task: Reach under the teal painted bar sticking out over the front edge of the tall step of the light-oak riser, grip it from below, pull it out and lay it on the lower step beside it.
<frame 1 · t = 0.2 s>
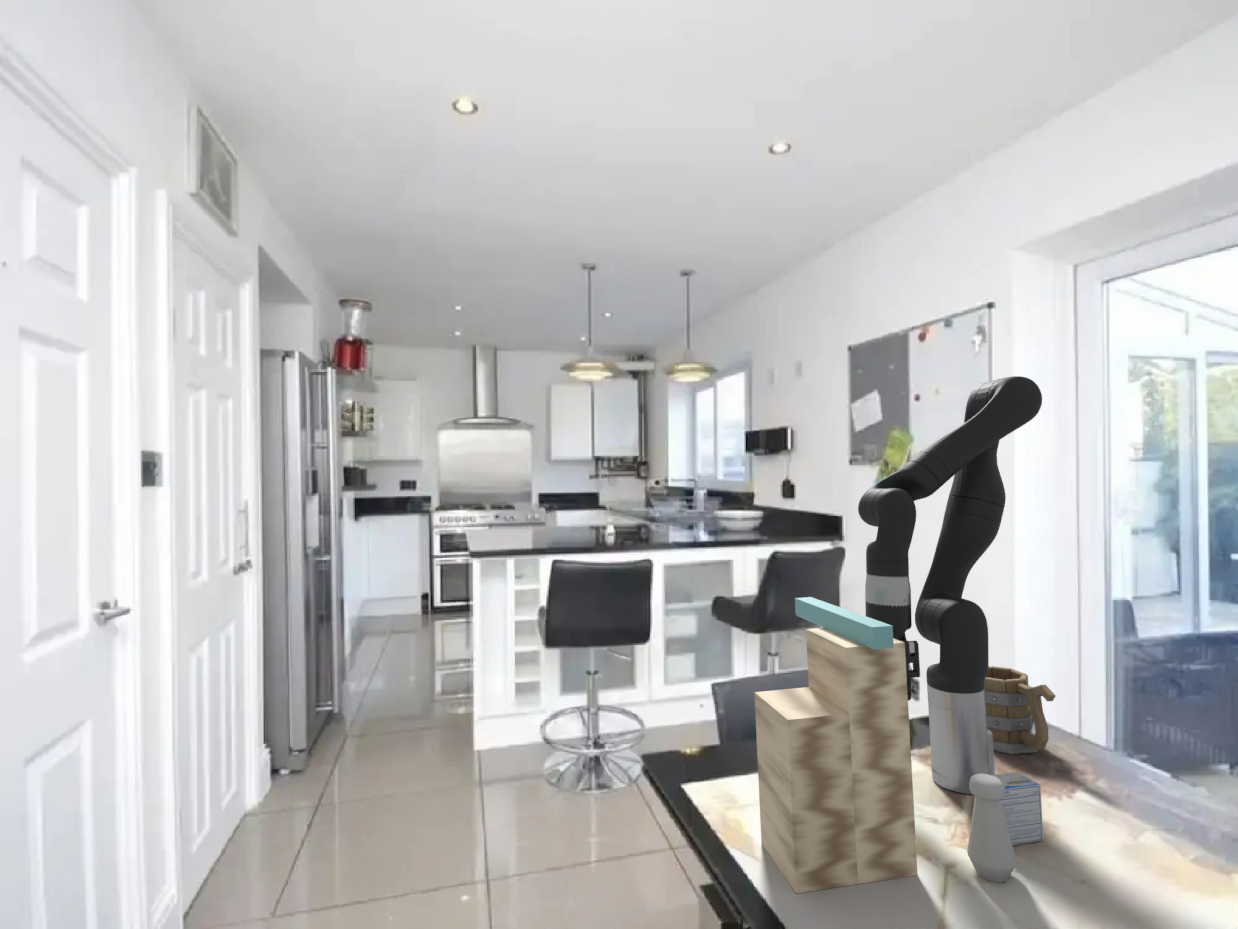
hand: (889, 692, 111), 17 cm above the table, tool pointing down, fingers open, 8 cm apart
salt shaker: (992, 875, 87), on the table
medicine box: (1010, 839, 95), on the table
tankard: (1014, 749, 126), on the table
teal bar: (838, 629, 97), point 32 cm above the table, touching oak riser
oak riser: (835, 858, 91), on the table
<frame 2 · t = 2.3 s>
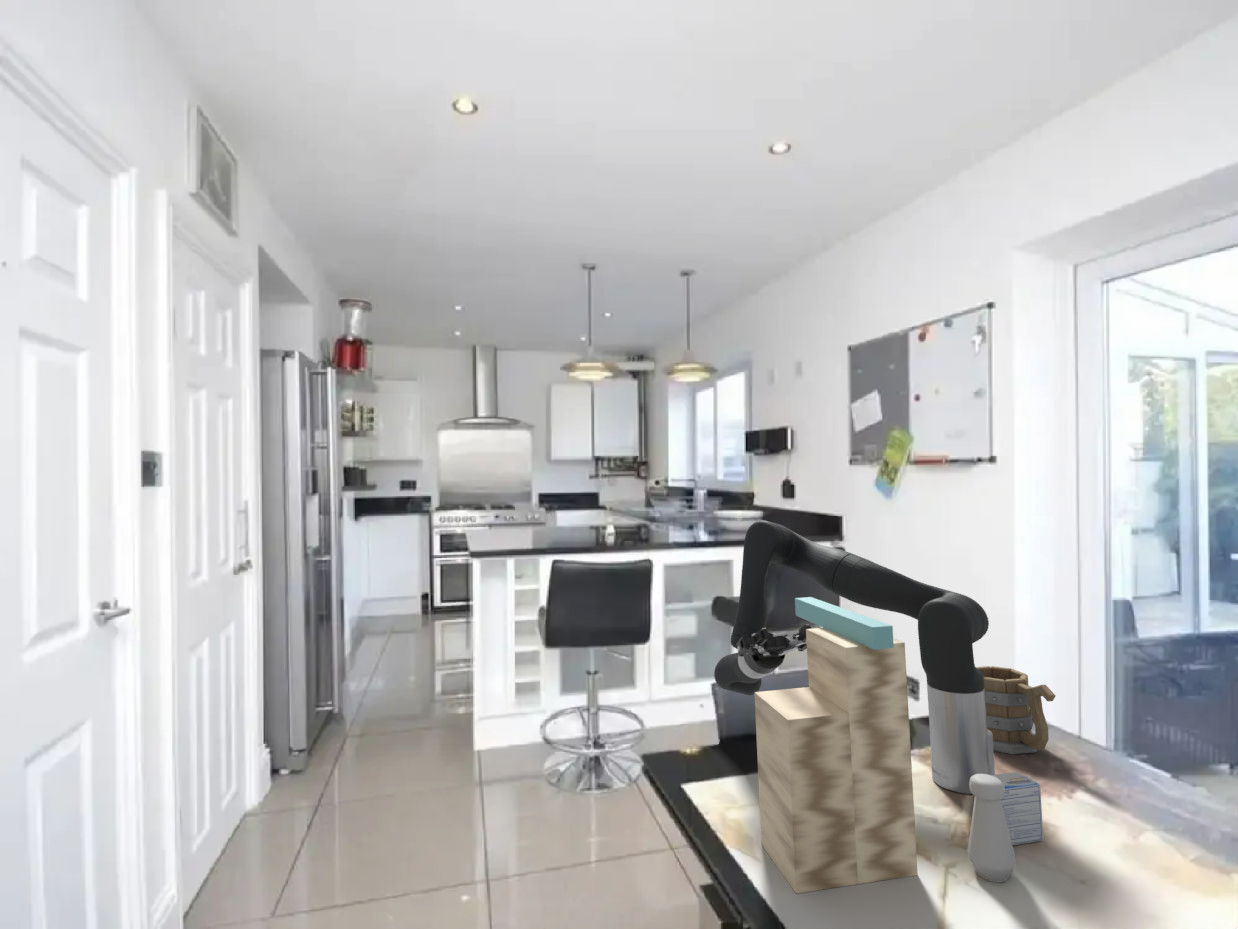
hand: (787, 631, 116), 28 cm above the table, tool pointing upward, fingers open, 8 cm apart
nothing on the table moved.
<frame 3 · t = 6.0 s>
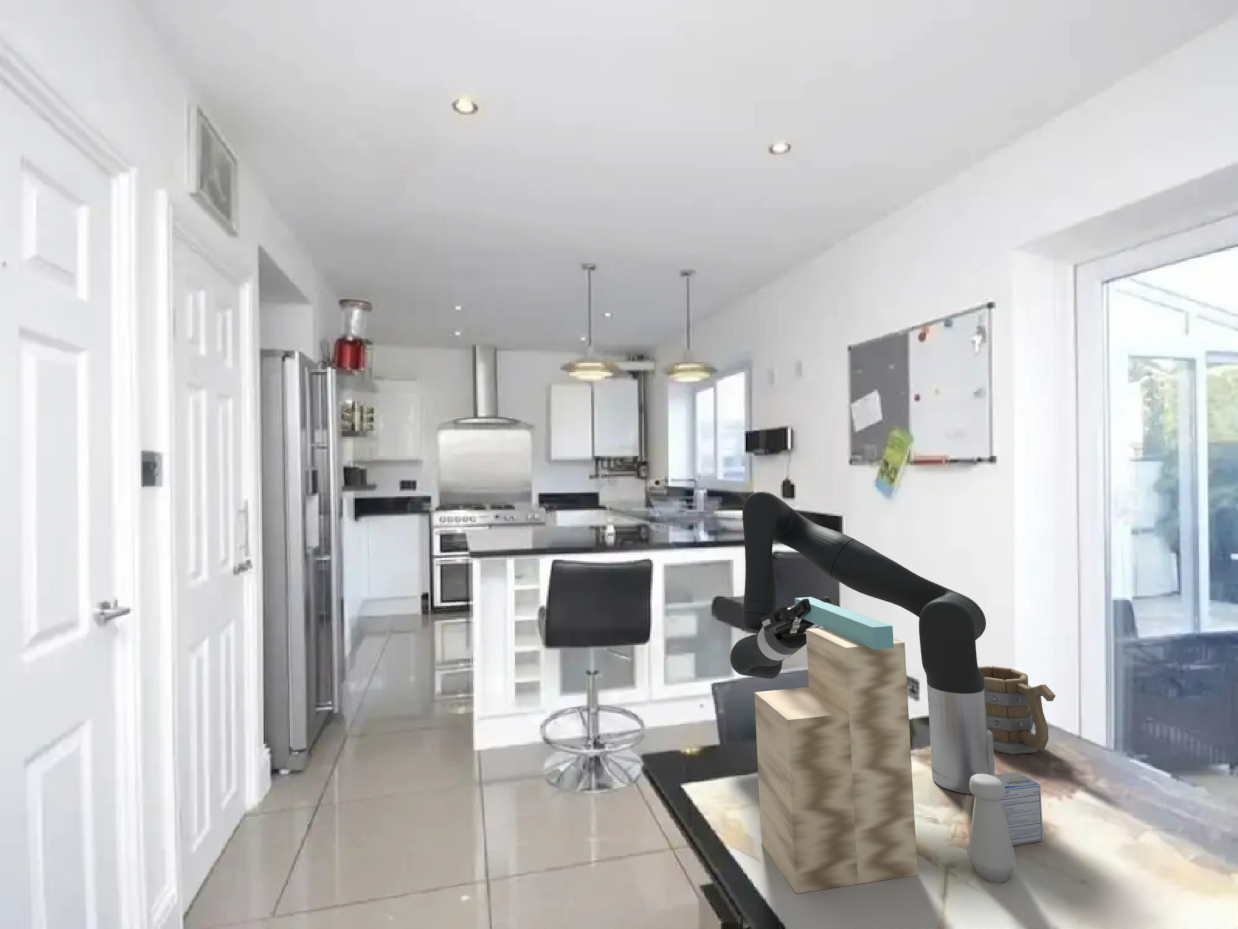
hand: (818, 603, 104), 35 cm above the table, tool pointing upward, fingers closed on teal bar, 3 cm apart
teal bar: (838, 629, 97), point 32 cm above the table, touching gripper, oak riser
everything else where it was.
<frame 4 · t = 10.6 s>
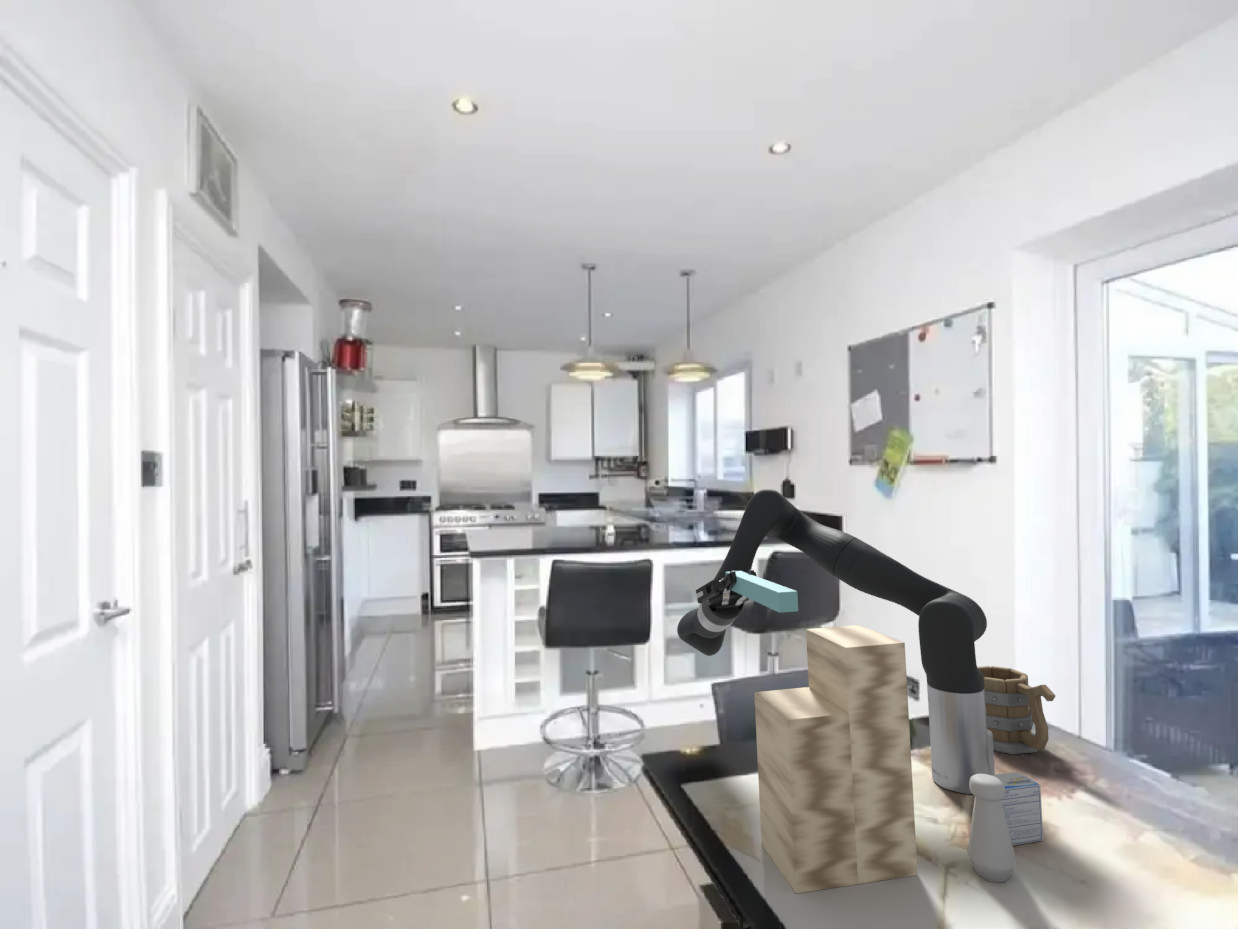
hand: (743, 575, 112), 39 cm above the table, tool pointing upward, fingers closed on teal bar, 3 cm apart
teal bar: (758, 598, 106), point 36 cm above the table, touching gripper
everything else where it was.
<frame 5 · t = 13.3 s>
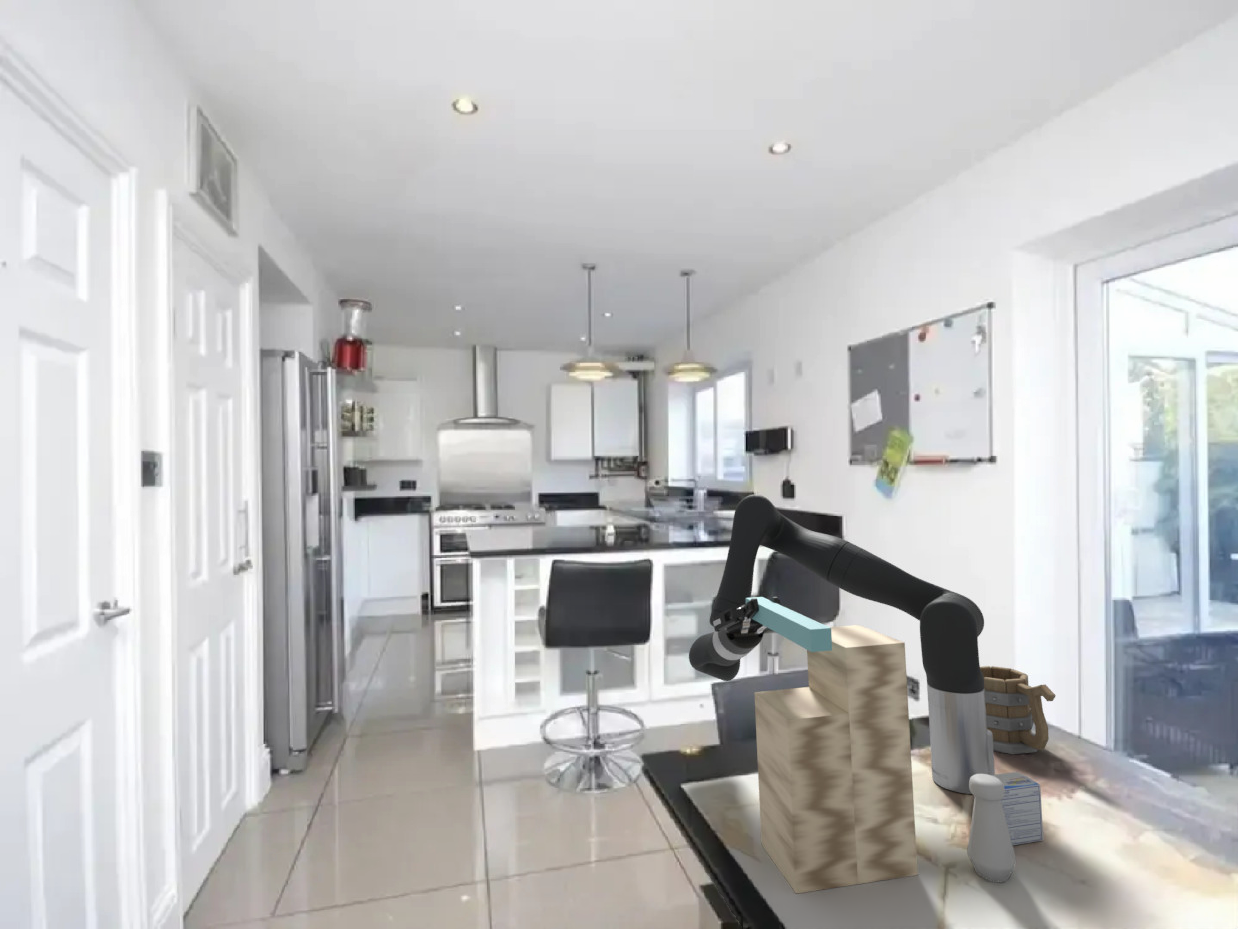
hand: (766, 603, 102), 36 cm above the table, tool pointing upward, fingers closed on teal bar, 3 cm apart
teal bar: (783, 630, 96), point 33 cm above the table, touching gripper
everything else where it was.
when the fingers open (27 cm above the table, at t = 15.4 s): teal bar stays where it is, resting on oak riser.
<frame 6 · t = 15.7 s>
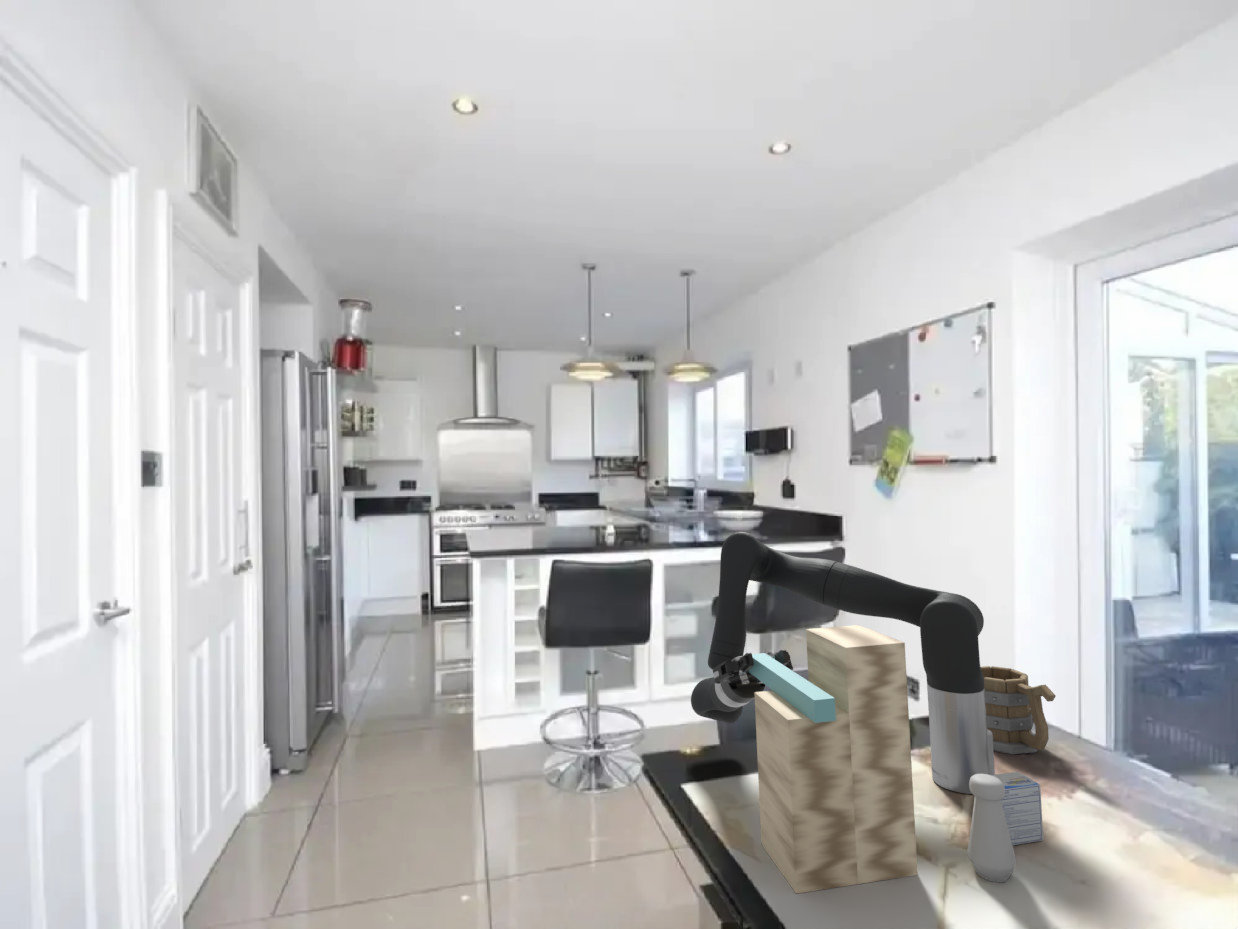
hand: (768, 657, 102), 27 cm above the table, tool pointing upward, fingers open, 5 cm apart
teal bar: (787, 693, 96), point 23 cm above the table, touching oak riser
everything else where it was.
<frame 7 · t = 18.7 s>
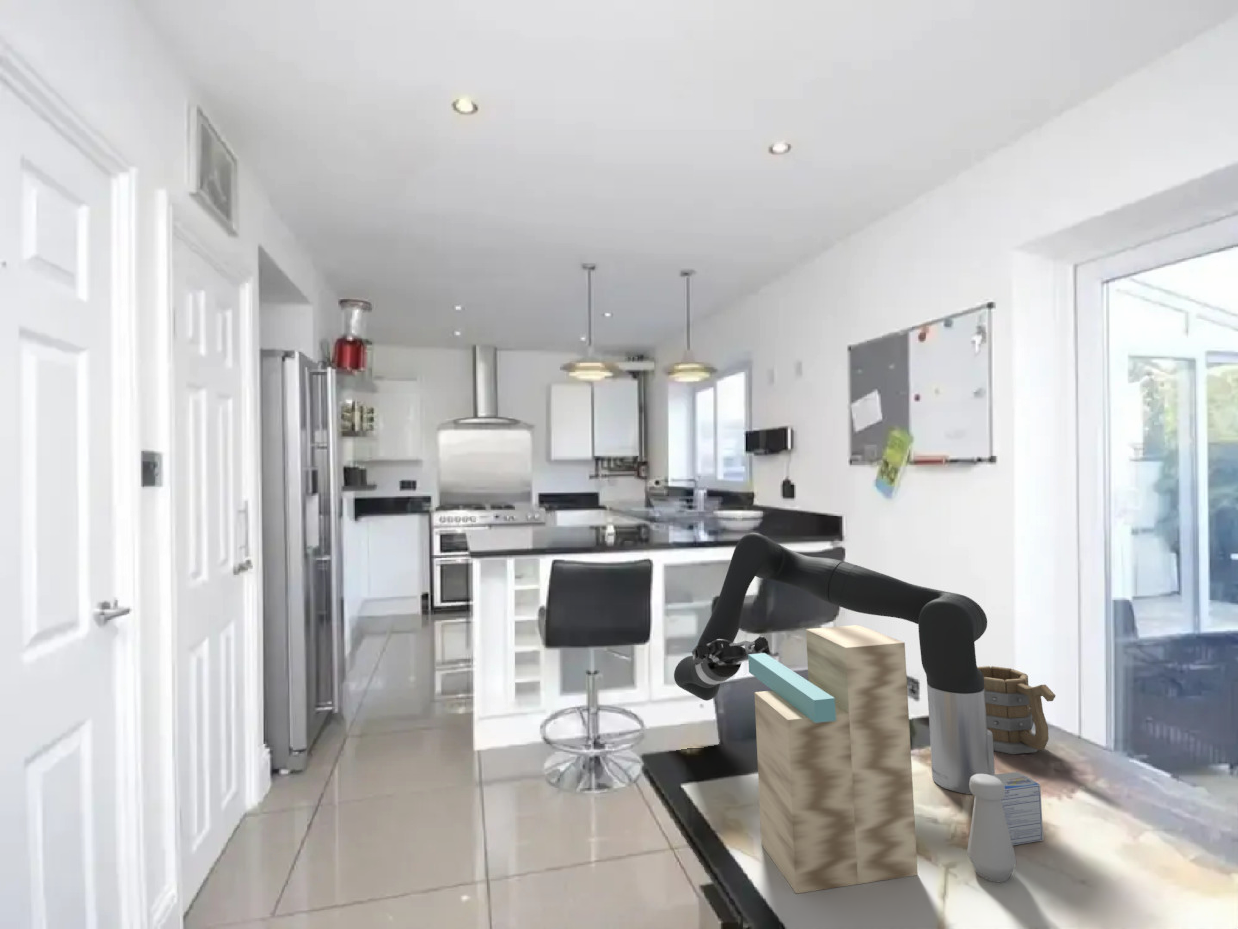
hand: (741, 643, 115), 26 cm above the table, tool pointing upward, fingers open, 8 cm apart
nothing on the table moved.
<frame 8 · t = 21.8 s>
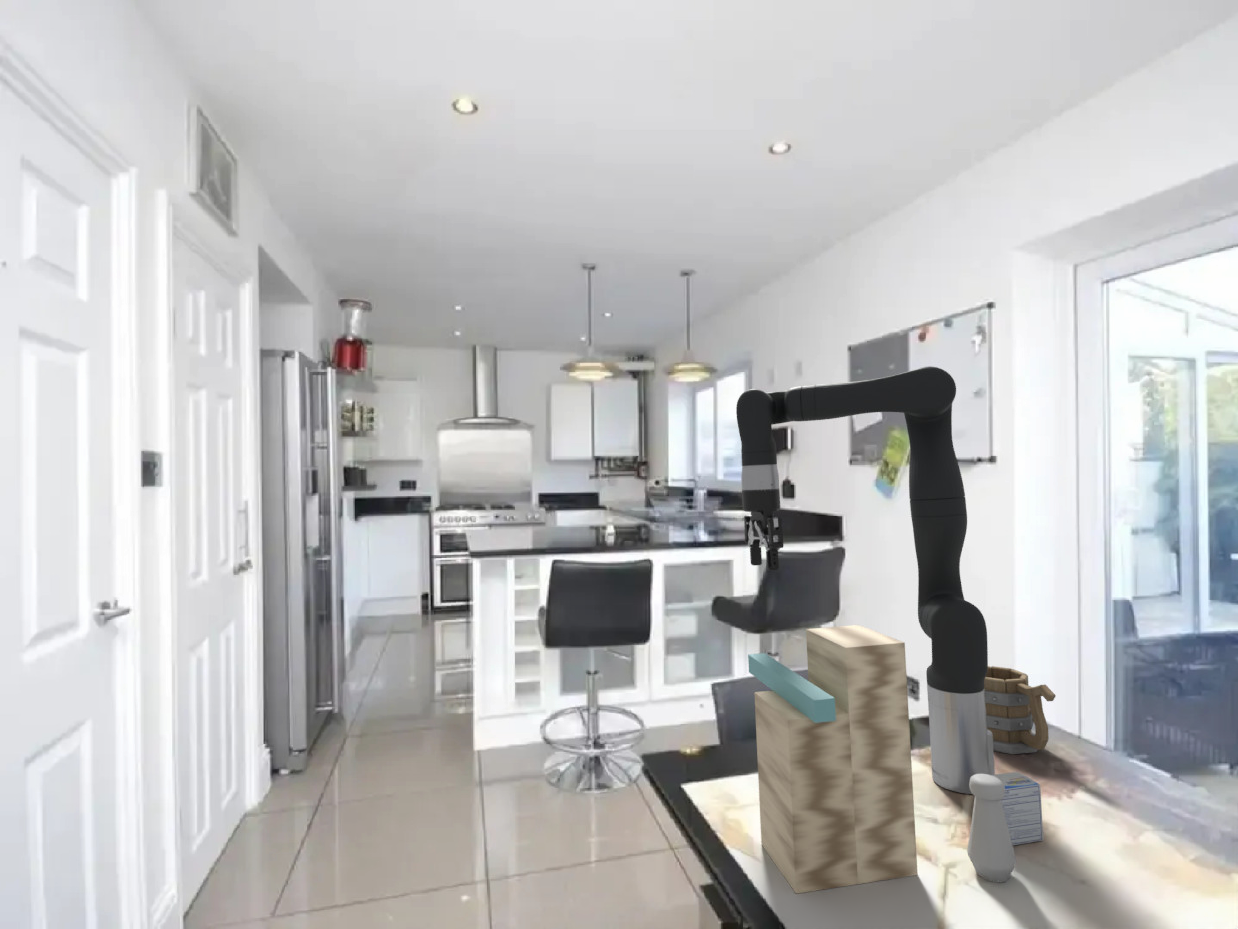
hand: (764, 567, 127), 38 cm above the table, tool pointing down, fingers open, 8 cm apart
nothing on the table moved.
at the end: teal bar inside the target area on the oak riser (1.1 cm from its centre), point 23.0 cm above the oak riser's base; teal bar tilted 0°; the gripper is holding nothing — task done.
